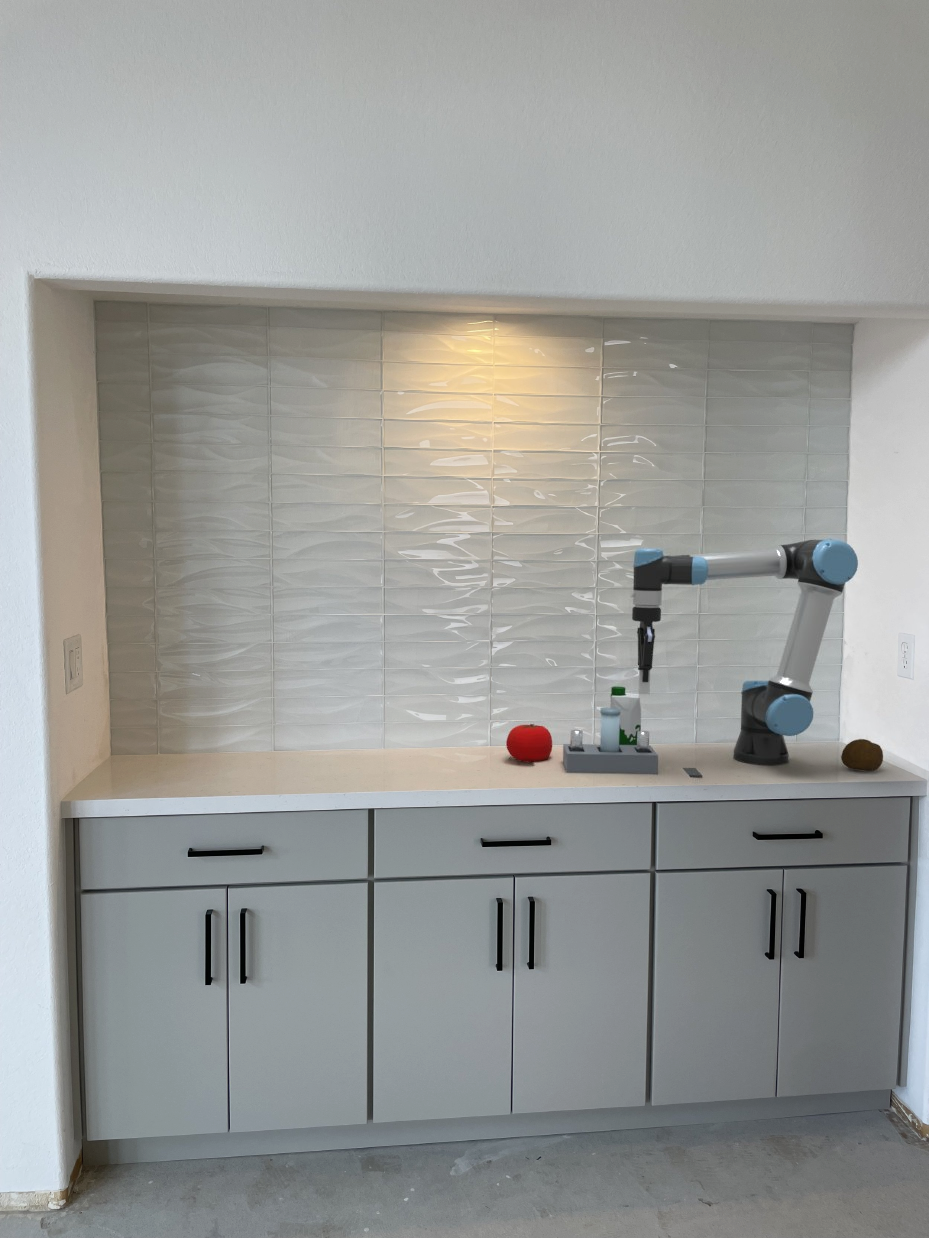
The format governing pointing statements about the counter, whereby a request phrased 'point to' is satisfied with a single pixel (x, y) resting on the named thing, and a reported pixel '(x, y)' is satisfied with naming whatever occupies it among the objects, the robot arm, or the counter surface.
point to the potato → (862, 755)
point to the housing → (610, 760)
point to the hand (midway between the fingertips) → (643, 693)
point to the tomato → (529, 743)
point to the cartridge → (610, 729)
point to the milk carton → (627, 714)
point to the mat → (693, 772)
